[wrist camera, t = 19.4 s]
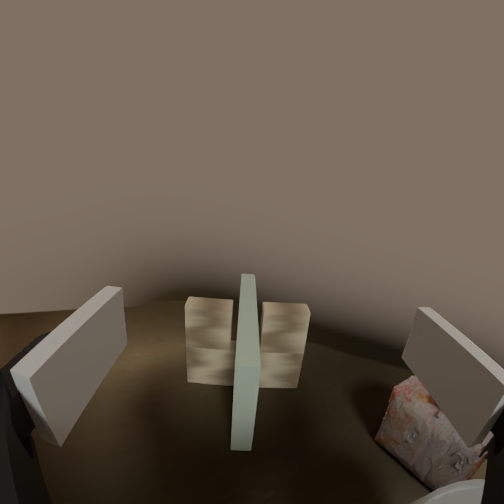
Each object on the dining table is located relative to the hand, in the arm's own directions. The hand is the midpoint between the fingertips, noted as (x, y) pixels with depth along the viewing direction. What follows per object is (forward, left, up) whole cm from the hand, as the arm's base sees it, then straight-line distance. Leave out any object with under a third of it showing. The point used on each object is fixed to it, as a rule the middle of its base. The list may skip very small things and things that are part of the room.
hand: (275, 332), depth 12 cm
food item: (+18, +4, -19) cm, 27 cm away
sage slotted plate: (-1, +20, -19) cm, 27 cm away
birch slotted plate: (-1, +20, -19) cm, 27 cm away
